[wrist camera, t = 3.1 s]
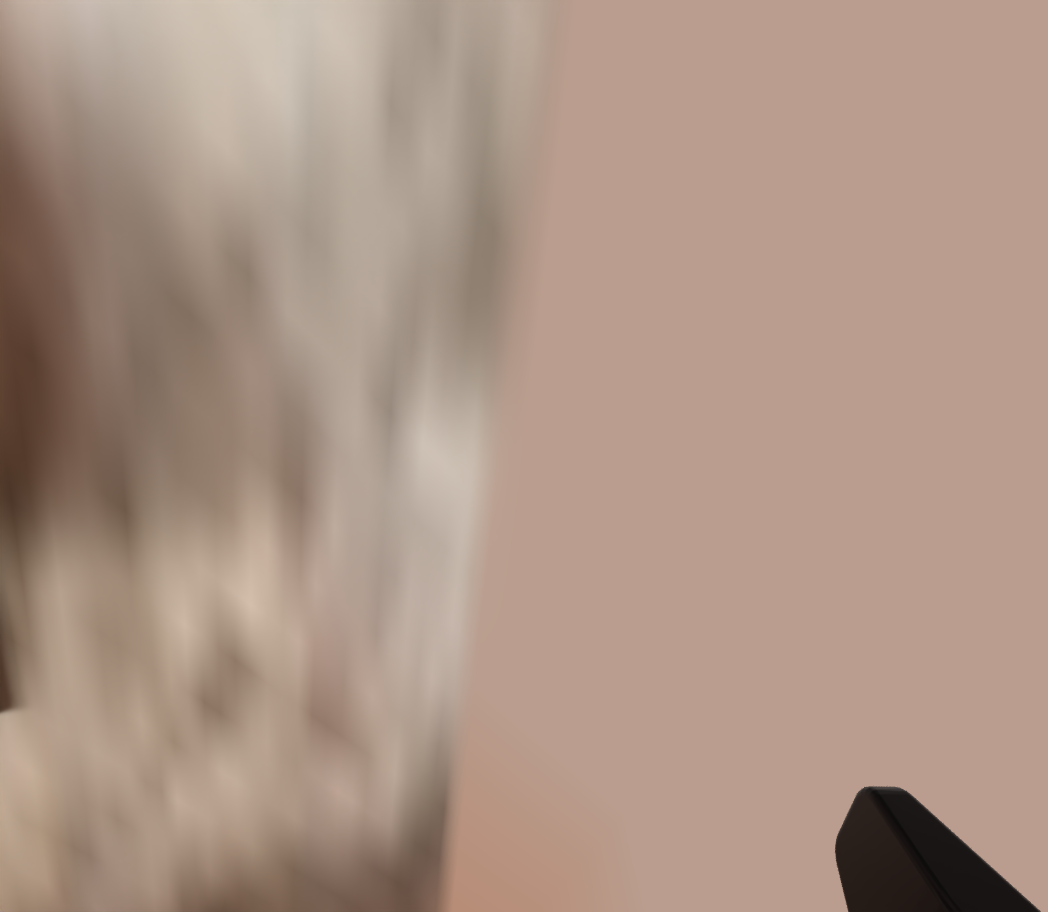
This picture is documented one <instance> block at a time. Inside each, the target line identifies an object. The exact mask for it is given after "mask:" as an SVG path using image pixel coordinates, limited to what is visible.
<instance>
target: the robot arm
mask: <svg viewBox="0 0 1048 912" xmlns="http://www.w3.org/2000/svg"><path fill="white" fill-rule="evenodd" d="M835 853H836V862H837V867H838V871H839V875H840V879H841V883H842V887H843V892H844V896H845V900H846V904H847V908H848V912H1040V910H1038V909H1037V908H1036V907H1035V906H1034V905H1033V904H1032V903H1031V902H1030V901H1028V900H1027V899H1026V898H1025V897H1024V896H1023V895H1022V894H1021V893H1019V892H1018V891H1017V890H1016V889H1015V888H1014V887H1013V886H1012V885H1011V884H1010V883H1009V882H1007V881H1006V880H1005V879H1004V878H1003V877H1002V876H1001V875H1000V874H998V873H997V872H996V871H995V870H994V869H993V868H992V867H991V866H990V865H989V864H987V863H986V862H985V861H984V860H983V859H982V858H981V857H980V856H979V855H977V854H976V853H975V852H974V851H973V850H972V849H971V848H970V847H969V846H968V845H966V844H965V843H964V842H963V841H962V840H961V839H960V838H959V837H958V836H956V835H955V834H954V833H953V832H952V831H951V830H950V829H949V828H948V827H946V826H945V825H944V824H943V823H942V822H941V821H940V820H939V819H938V818H937V817H935V816H934V815H933V814H932V813H931V812H930V811H929V810H928V809H927V808H925V807H924V806H923V805H922V804H921V803H920V802H919V801H918V800H917V799H915V798H914V797H913V796H912V795H911V794H910V793H908V792H907V791H905V790H903V789H901V788H898V787H864V788H863V789H861V790H860V791H859V792H858V793H857V795H856V797H855V799H854V801H853V804H852V805H851V808H850V810H849V812H848V814H847V816H846V818H845V820H844V823H843V825H842V827H841V829H840V831H839V833H838V836H837V839H836V845H835Z"/></svg>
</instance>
